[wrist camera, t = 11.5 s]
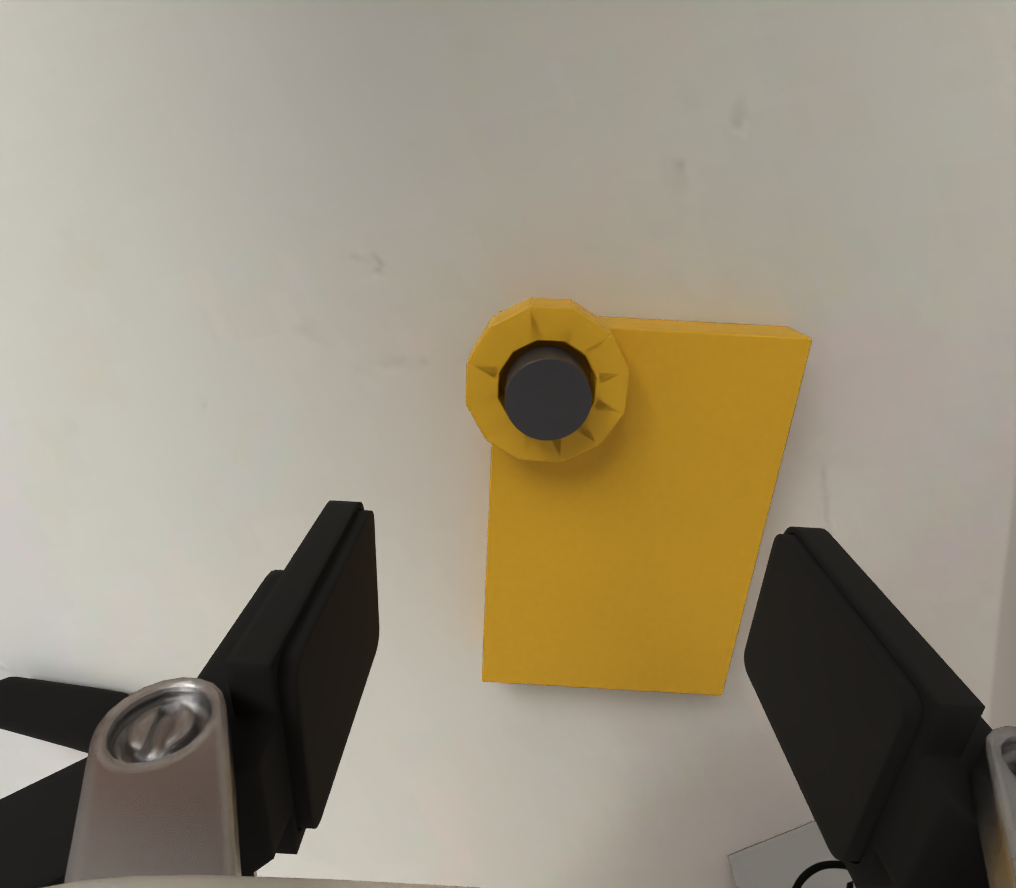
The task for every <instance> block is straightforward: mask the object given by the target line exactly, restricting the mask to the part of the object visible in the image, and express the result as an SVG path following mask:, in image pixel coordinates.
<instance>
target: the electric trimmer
mask: <svg viewBox="0 0 1016 888" xmlns="http://www.w3.org/2000/svg"><path fill="white" fill-rule="evenodd" d="M128 696H129V695H128V694H126V693H123V692H116V691H110V690H104V689H98V688H92V687H86V686H79V685H72V684H64V683H57V682H50V681H43V680H36V679H29V678H21V677H8V678H5V679H2V680H0V729H4V730H8V731H11V732H15V733H19V734H22V735H26V736H29V737H33V738H37V739H40V740H44V741H48V742H51V743H55V744H58V745H62V746H66V747H69V748H73V749H76V750H79V751H83V752H86V753H88V752H89V746H90V742H91V739H92V737H93V734H94V732H95V729H96V727H97V725H98V724H99V723H100V722H101V720H102V719H103V718H104V717H105V715H106V714H107V713H108V712H109V711H110V710H111V709H112V708H113V707H115V706H116V705H117V704H118V703H120V702H121V701H122V700H123V699H124V698H126V697H128Z"/></svg>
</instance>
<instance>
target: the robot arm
mask: <svg viewBox="0 0 1016 888" xmlns="http://www.w3.org/2000/svg"><path fill="white" fill-rule="evenodd" d="M378 640H379V612H378V590H377V568H376V546H375V524H374V514H373V511H368V510H364V507H363V504H362V503H361V502H350V501H329V502H328V503H327V504H326V506H325V507H324V509H323V510H322V512H321V514H320V515H319V517H318V518H317V520H316V521H315V523H314V524H313V526H312V528H311V529H310V531H309V532H308V534H307V535H306V537H305V538H304V540H303V541H302V543H301V545H300V546H299V548H298V549H297V551H296V552H295V554H294V555H293V557H292V558H291V560H290V562H289V563H288V565H287V566H286V568H285V569H284V570H274V571H271V572H270V573H269V574H268V575H267V576H266V578H265V579H264V581H263V582H262V583H261V585H260V586H259V588H258V589H257V591H256V592H255V594H254V595H253V597H252V598H251V600H250V601H249V603H248V604H247V605H246V607H245V608H244V610H243V611H242V613H241V614H240V616H239V617H238V619H237V620H236V622H235V623H234V625H233V626H232V627H231V629H230V630H229V632H228V633H227V635H226V636H225V638H224V639H223V641H222V642H221V644H220V645H219V647H218V648H217V650H216V651H215V652H214V654H213V655H212V657H211V658H210V660H209V661H208V663H207V664H206V666H205V667H204V669H203V670H202V672H201V673H200V674H199V676H198V677H197V678H184V677H182V678H176V679H170V680H164V681H161V682H158V683H155V684H153V685H150V686H147V687H144V688H142V689H140V690H139V691H137V692H135V693H133V694H131V695H130V696H128V697H126V698H124V699H123V700H122V701H121V702H120V703H118V704H117V705H116V706H115V707H113V708H112V709H111V710H110V711H109V712H108V713H107V714H106V715H105V717H104V718H103V719H102V720H101V722H100V723H99V724H98V725H97V727H96V729H95V732H94V734H93V737H92V739H91V742H90V746H89V752H88V757H86V758H84V759H82V760H80V761H78V762H76V763H74V764H72V765H70V766H68V767H66V768H64V769H62V770H60V771H58V772H56V773H54V774H52V775H49V776H47V777H45V778H43V779H41V780H39V781H37V782H35V783H33V784H31V785H29V786H27V787H25V788H23V789H21V790H19V791H17V792H15V793H13V794H11V795H8V796H6V797H4V798H2V799H0V888H478V887H460V886H442V885H424V884H406V883H388V882H370V881H352V880H333V879H306V878H278V877H257V872H256V871H257V870H258V869H259V868H261V867H262V866H264V865H265V864H267V863H268V862H269V861H271V860H272V859H274V856H275V854H276V853H284V854H297V852H298V850H299V847H300V844H301V841H302V838H303V835H304V832H305V829H306V828H312V829H315V828H317V827H318V825H319V823H320V821H321V818H322V815H323V812H324V809H325V806H326V803H327V800H328V797H329V794H330V791H331V788H332V785H333V782H334V779H335V775H336V772H337V769H338V766H339V763H340V760H341V757H342V754H343V751H344V748H345V745H346V742H347V739H348V736H349V733H350V730H351V727H352V724H353V721H354V718H355V715H356V711H357V708H358V705H359V702H360V699H361V696H362V693H363V690H364V687H365V684H366V681H367V678H368V675H369V672H370V669H371V666H372V663H373V660H374V657H375V654H376V650H377V646H378ZM744 663H745V668H746V672H747V674H748V676H749V678H750V681H751V683H752V685H753V687H754V689H755V691H756V694H757V696H758V698H759V700H760V702H761V704H762V707H763V709H764V711H765V713H766V715H767V717H768V720H769V722H770V724H771V726H772V728H773V730H774V733H775V735H776V737H777V739H778V741H779V743H780V745H781V748H782V750H783V752H784V754H785V756H786V758H787V761H788V763H789V765H790V767H791V769H792V771H793V774H794V776H795V778H796V780H797V782H798V784H799V787H800V789H801V791H802V793H803V795H804V797H805V800H806V802H807V804H808V806H809V808H810V810H811V812H812V815H813V817H814V819H815V821H816V823H817V825H818V828H819V830H820V832H821V834H822V836H823V838H824V841H825V843H826V845H827V847H828V849H829V851H830V853H831V854H832V855H833V857H834V858H835V859H837V860H839V861H843V862H844V864H845V866H846V868H847V870H848V872H849V874H850V876H851V878H852V881H853V883H854V885H855V887H856V888H1016V727H1013V726H1005V727H1000V728H997V729H993V730H992V729H991V728H990V726H989V725H988V724H987V723H986V722H985V721H984V720H983V718H982V717H981V715H982V713H983V711H984V709H985V706H984V705H983V704H982V703H981V701H980V700H979V699H978V698H977V697H976V696H975V695H974V694H973V693H972V691H971V690H970V689H969V688H968V687H967V686H966V685H965V684H964V683H963V681H962V680H961V679H960V678H959V677H958V676H957V675H956V674H955V673H954V671H953V670H952V669H951V668H950V667H949V666H948V665H947V664H946V663H945V661H944V660H943V659H942V658H941V657H940V656H939V655H938V654H937V652H936V651H935V650H934V649H933V648H932V647H931V646H930V645H929V644H928V642H927V641H926V640H925V639H924V638H923V637H922V636H921V635H920V634H919V632H918V631H917V630H916V629H915V628H914V627H913V626H912V625H911V624H910V622H909V621H908V620H907V619H906V618H905V617H904V616H903V615H902V614H901V612H900V611H899V610H898V609H897V608H896V607H895V606H894V605H893V604H892V602H891V601H890V600H889V599H888V598H887V597H886V596H885V595H884V593H883V592H882V591H881V590H880V589H879V588H878V587H877V586H876V585H875V583H874V582H873V581H872V580H871V579H870V578H869V577H868V576H867V575H866V573H865V572H864V571H863V570H862V569H861V568H860V567H859V566H858V565H857V563H856V562H855V561H854V560H853V559H852V558H851V557H850V556H849V555H848V553H847V552H846V551H845V550H844V549H843V548H842V547H841V546H840V544H839V543H838V542H837V541H836V540H835V539H834V538H833V537H832V536H831V534H830V533H829V532H828V531H826V530H825V529H821V528H805V527H789V528H787V530H786V531H785V532H784V534H778V535H777V536H776V537H775V539H774V542H773V545H772V549H771V553H770V557H769V560H768V564H767V568H766V572H765V575H764V579H763V583H762V587H761V591H760V594H759V598H758V602H757V606H756V610H755V613H754V617H753V621H752V625H751V629H750V632H749V636H748V640H747V644H746V647H745V652H744Z"/></svg>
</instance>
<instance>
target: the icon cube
mask: <svg viewBox="0 0 1016 888" xmlns="http://www.w3.org/2000/svg"><path fill="white" fill-rule="evenodd" d="M728 859H729V862H730V865H731V868H732V872H733V875H734V878H735V882H736V885H737V888H856V887H855V885H854V883H853V881H852V878H851V876H850V874H849V872H848V870H847V868H846V866H845V864H844V862H843V861H839V860H837V859H835V858H834V857H833V855H832V854H831V853H830V851H829V849H828V847H827V845H826V843H825V841H824V838H823V836H822V834H821V832H820V830H819V828H818V825H817V823H816V821H814V822H812V823H809V824H807V825H804V826H801V827H799V828H796V829H794V830H791V831H789V832H786V833H784V834H781V835H779V836H776V837H774V838H771V839H769V840H766V841H764V842H761V843H759V844H756V845H754V846H751V847H749V848H746V849H744V850H741V851H739V852H736V853H734V854H731V855H729V856H728Z"/></svg>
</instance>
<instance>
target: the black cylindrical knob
mask: <svg viewBox="0 0 1016 888" xmlns="http://www.w3.org/2000/svg"><path fill="white" fill-rule="evenodd" d="M591 403H592V394H591V388H590V385H589V382H588V379H587V376H586V373H585V370H584V368H583V366H582V365H581V363H580V362H579V360H578V359H577V358H576V357H575V356H574V355H572V354H571V353H569V352H568V351H566V350H564V349H561V348H558V347H552V346H542V347H537V348H533V349H531V350H528V351H527V352H525V353H523V354H522V355H521V356H519V357H518V358H517V359H516V361H515V362H514V363H513V364H512V366H511V368H510V370H509V372H508V375H507V380H506V389H505V409H506V412H507V415H508V417H509V419H510V420H511V422H512V424H513V425H514V426H515V427H516V428H517V429H518V430H519V431H520V432H522V433H523V434H525V435H527V436H529V437H531V438H534V439H538V440H557V439H561V438H564V437H566V436H568V435H570V434H572V433H573V432H575V431H576V430H577V429H578V428H579V427H580V426H581V425H582V424H583V423H584V421H585V420H586V418H587V416H588V414H589V412H590V409H591Z"/></svg>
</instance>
